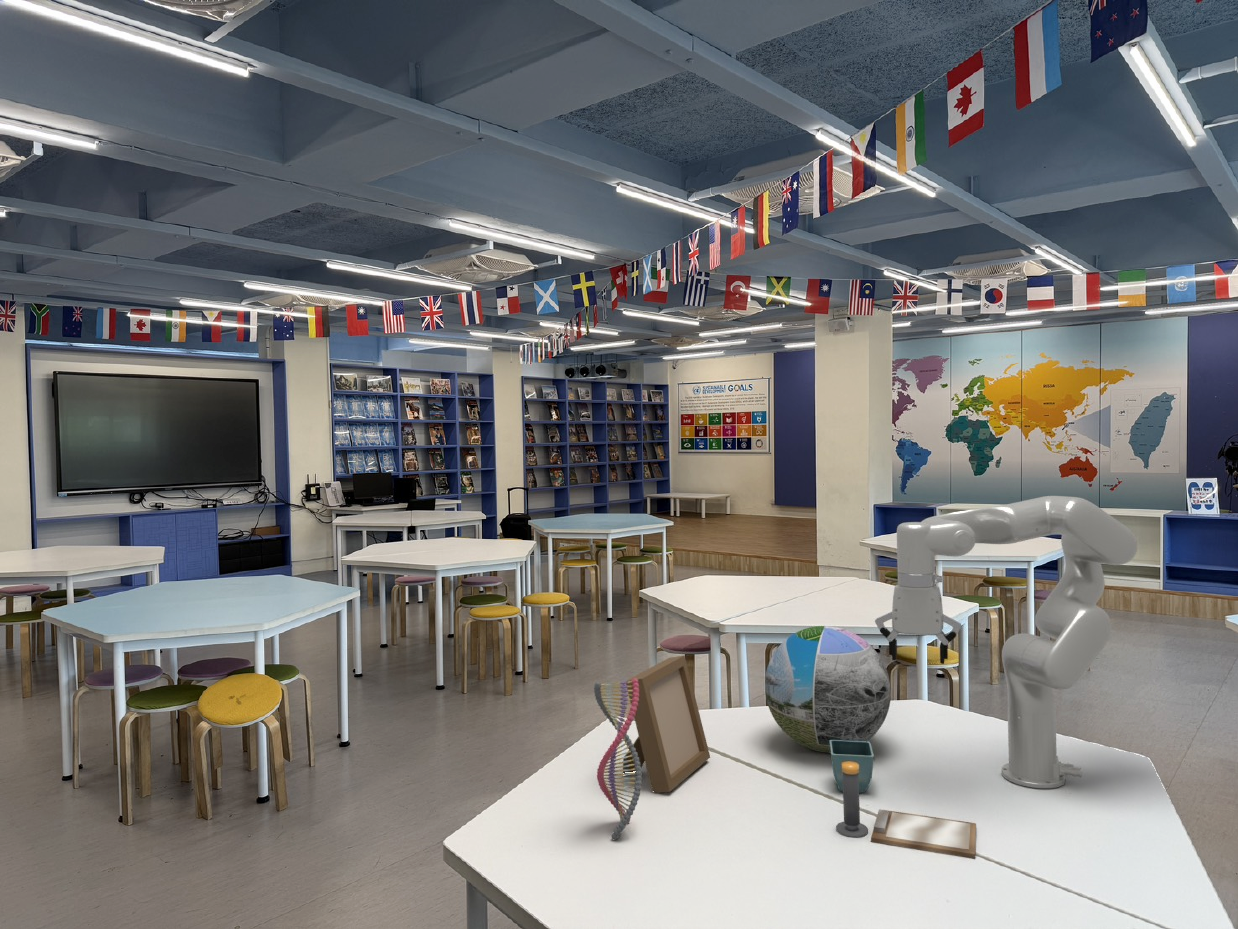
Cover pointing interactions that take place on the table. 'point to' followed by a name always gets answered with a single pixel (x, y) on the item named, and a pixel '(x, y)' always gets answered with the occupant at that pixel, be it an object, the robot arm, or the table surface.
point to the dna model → (612, 751)
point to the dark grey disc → (859, 833)
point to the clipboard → (925, 833)
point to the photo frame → (667, 725)
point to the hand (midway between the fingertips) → (918, 660)
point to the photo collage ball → (827, 687)
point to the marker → (851, 795)
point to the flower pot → (852, 760)
